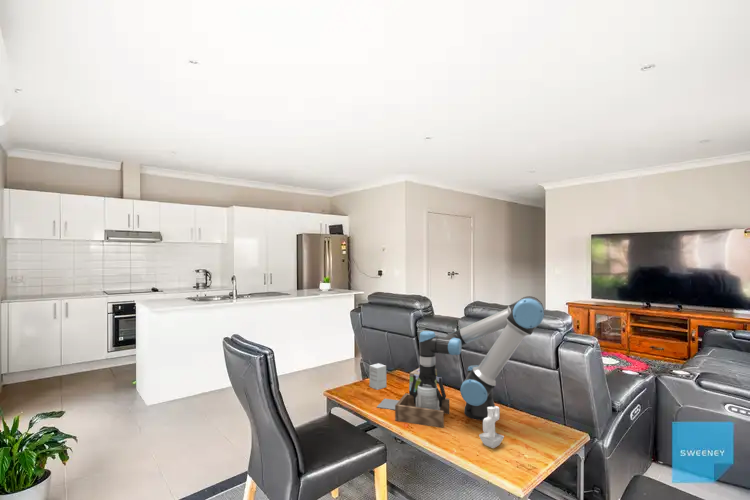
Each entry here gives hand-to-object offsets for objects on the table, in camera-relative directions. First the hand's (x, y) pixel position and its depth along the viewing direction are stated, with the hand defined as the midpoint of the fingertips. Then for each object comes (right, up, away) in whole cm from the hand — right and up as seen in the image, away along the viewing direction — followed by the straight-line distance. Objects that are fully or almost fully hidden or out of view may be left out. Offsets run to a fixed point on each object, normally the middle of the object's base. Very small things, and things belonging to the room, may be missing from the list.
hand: (427, 411), depth 181 cm
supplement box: (-23, -4, +43) cm, 49 cm away
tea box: (+1, -3, +25) cm, 25 cm away
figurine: (+22, -2, -27) cm, 35 cm away
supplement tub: (0, -3, 0) cm, 3 cm away
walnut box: (-2, -3, +1) cm, 3 cm away
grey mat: (-16, -3, +16) cm, 23 cm away
